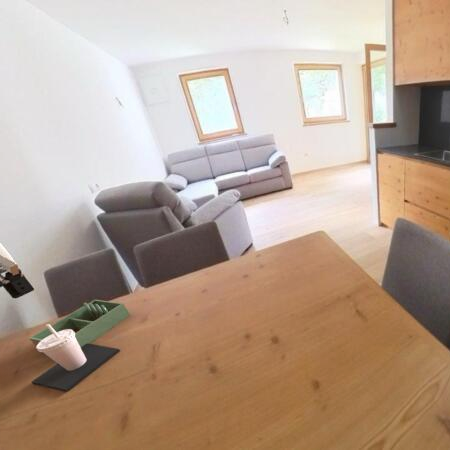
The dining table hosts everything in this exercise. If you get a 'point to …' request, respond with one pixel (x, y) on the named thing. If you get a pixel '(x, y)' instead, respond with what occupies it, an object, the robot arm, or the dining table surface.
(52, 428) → the dining table surface
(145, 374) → the dining table surface
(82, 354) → the smoothie
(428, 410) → the dining table surface
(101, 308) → the rack
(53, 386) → the mat
